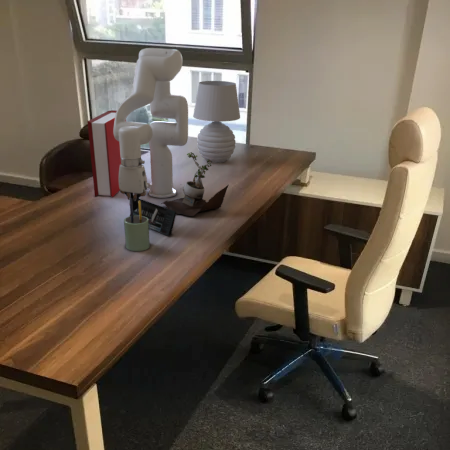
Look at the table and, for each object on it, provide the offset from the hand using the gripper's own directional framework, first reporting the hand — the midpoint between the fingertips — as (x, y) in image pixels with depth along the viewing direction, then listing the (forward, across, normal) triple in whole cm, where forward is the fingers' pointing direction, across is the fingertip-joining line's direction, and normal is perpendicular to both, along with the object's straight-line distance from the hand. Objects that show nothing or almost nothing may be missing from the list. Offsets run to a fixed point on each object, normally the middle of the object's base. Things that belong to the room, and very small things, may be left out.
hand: (134, 209), depth 200 cm
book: (+7, +29, -37) cm, 48 cm away
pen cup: (+6, -11, +20) cm, 23 cm away
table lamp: (+8, +1, -103) cm, 103 cm away
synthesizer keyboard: (+6, -8, +1) cm, 10 cm away
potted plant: (+6, -15, -24) cm, 29 cm away
